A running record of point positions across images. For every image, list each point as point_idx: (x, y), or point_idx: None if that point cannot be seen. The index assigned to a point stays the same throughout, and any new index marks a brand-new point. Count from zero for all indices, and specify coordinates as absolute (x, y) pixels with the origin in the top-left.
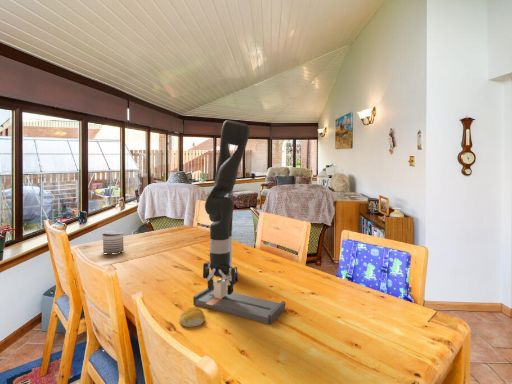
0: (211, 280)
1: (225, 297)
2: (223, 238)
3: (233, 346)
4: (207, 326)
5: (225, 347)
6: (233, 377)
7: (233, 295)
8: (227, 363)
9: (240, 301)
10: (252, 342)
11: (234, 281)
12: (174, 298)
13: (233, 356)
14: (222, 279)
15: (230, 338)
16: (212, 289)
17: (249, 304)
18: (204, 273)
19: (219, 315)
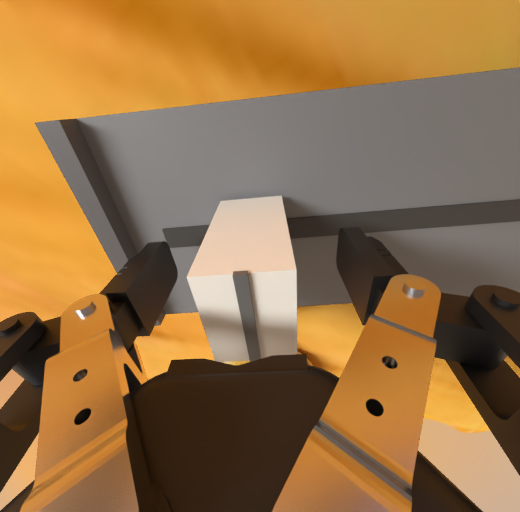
0: (133, 313)
1: (291, 221)
2: None
3: (454, 389)
4: (335, 365)
5: (433, 396)
6: (477, 431)
7: (323, 152)
8: (455, 418)
9: (421, 216)
10: (511, 365)
11: (505, 381)
12: (44, 298)
13: (463, 406)
14: (250, 299)
15: (434, 374)
16: (96, 154)
17: (499, 219)
18: (26, 422)
19: (334, 309)
